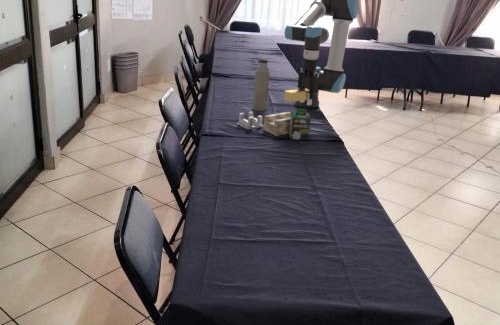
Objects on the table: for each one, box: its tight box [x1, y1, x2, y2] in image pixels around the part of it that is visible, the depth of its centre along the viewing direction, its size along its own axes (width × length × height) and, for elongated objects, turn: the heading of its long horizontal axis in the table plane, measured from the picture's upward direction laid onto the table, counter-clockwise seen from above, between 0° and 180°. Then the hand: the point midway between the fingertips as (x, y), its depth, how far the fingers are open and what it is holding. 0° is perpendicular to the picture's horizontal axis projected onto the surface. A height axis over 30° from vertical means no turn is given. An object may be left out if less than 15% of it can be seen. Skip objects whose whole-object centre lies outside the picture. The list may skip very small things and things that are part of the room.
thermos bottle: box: [252, 59, 271, 112], centre depth 257 cm, size 8×8×28 cm
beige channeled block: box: [263, 111, 291, 137], centre depth 227 cm, size 16×10×8 cm, turn 127°
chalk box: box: [288, 108, 312, 141], centre depth 218 cm, size 9×9×15 cm
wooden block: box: [283, 88, 309, 103], centre depth 226 cm, size 14×4×4 cm, turn 127°
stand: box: [236, 111, 264, 131], centre depth 230 cm, size 10×9×6 cm
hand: (305, 103), depth 232 cm, fingers closed on wooden block, 4 cm apart
